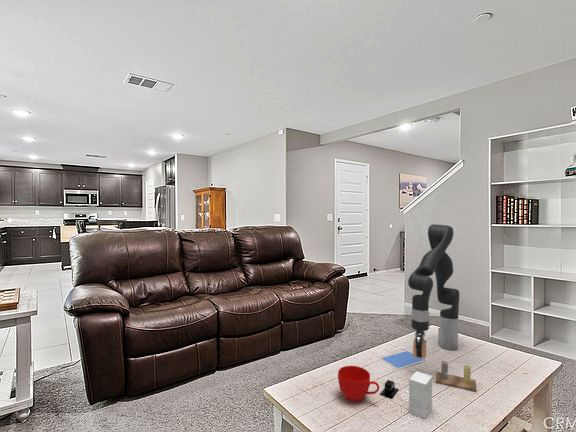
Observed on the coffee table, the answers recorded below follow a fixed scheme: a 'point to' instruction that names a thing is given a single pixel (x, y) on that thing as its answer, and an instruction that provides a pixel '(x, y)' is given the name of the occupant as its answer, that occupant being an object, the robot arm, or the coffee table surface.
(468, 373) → the brass post
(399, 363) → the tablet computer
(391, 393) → the black knobbed base
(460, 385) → the board
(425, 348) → the salmon pink cube
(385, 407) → the coffee table surface
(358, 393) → the ceramic cup
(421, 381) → the small box
